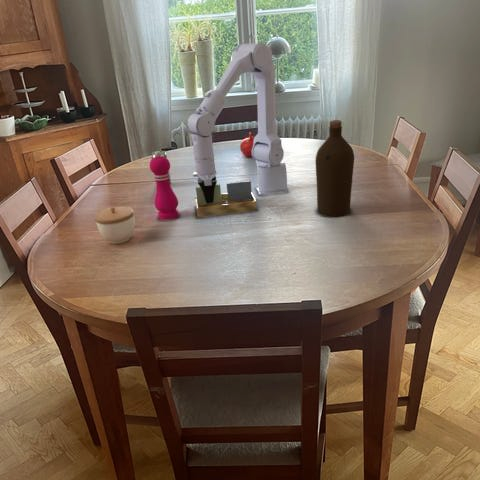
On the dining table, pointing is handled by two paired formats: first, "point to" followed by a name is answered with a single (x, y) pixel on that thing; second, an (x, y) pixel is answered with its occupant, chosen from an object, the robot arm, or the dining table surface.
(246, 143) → the pomegranate
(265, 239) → the dining table surface
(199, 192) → the sage coaster
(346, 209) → the olive oil
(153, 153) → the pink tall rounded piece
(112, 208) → the trinket box
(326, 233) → the dining table surface
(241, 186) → the blue coaster
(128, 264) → the dining table surface
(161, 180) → the pepper mill
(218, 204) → the coaster basket
